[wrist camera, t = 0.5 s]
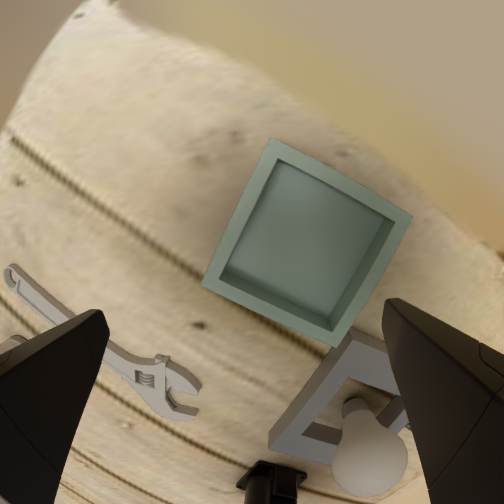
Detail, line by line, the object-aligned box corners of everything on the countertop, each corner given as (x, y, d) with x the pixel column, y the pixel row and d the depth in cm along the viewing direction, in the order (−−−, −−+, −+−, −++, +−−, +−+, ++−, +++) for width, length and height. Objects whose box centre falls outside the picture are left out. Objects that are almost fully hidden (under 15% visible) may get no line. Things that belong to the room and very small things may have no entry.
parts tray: (330, 330, 25) (336, 348, 22) (208, 272, 25) (199, 285, 22) (397, 211, 22) (413, 216, 20) (271, 142, 22) (270, 137, 19)
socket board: (354, 455, 28) (358, 471, 26) (269, 431, 28) (268, 449, 26) (434, 364, 25) (444, 377, 23) (346, 324, 25) (352, 339, 22)
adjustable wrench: (9, 277, 27) (-1, 281, 26) (23, 230, 26) (12, 233, 24) (185, 419, 29) (181, 429, 27) (217, 384, 28) (214, 395, 26)
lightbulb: (348, 369, 26) (378, 459, 15) (394, 390, 26) (432, 472, 15) (309, 413, 27) (318, 504, 16) (355, 430, 28) (376, 513, 17)
